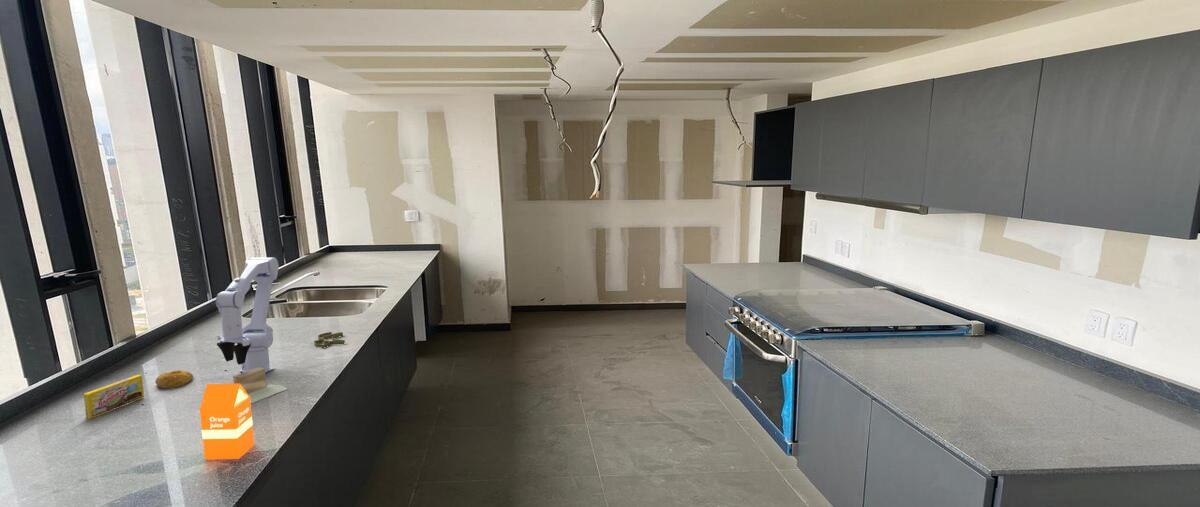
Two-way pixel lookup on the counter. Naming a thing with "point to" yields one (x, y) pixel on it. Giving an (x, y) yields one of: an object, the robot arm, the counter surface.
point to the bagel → (173, 379)
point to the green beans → (326, 336)
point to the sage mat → (265, 393)
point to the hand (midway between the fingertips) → (235, 362)
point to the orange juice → (226, 421)
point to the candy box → (113, 396)
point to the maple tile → (251, 379)
